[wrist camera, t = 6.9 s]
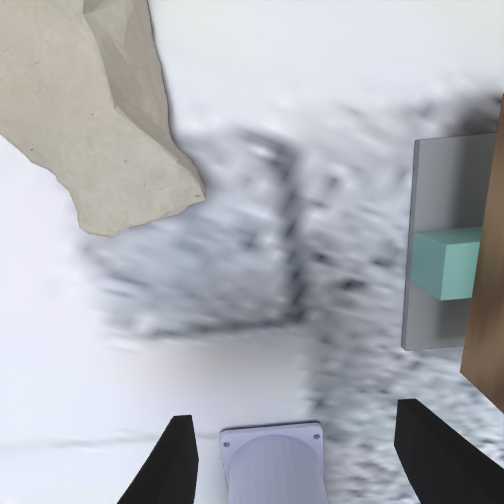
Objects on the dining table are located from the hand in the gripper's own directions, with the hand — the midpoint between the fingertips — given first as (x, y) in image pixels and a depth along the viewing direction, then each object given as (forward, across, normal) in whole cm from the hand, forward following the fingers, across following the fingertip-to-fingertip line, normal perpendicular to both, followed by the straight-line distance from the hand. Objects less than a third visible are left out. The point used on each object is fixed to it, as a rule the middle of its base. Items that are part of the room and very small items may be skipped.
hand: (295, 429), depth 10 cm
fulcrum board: (+10, -13, -3) cm, 17 cm away
